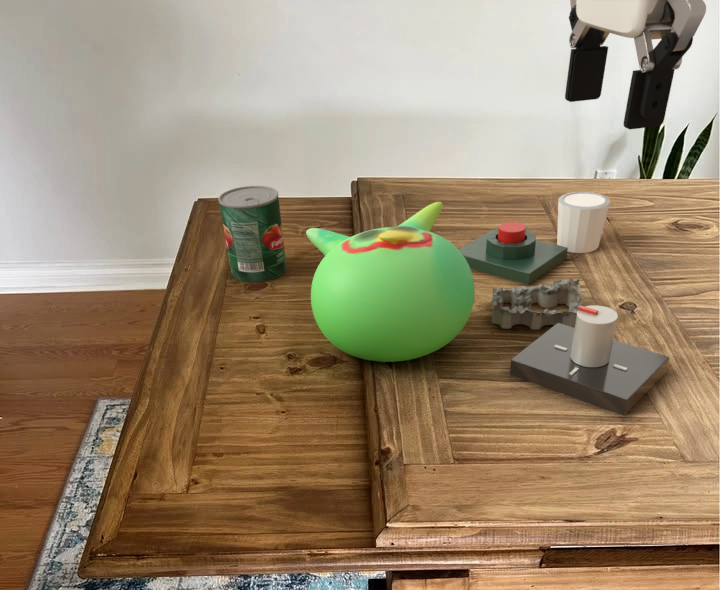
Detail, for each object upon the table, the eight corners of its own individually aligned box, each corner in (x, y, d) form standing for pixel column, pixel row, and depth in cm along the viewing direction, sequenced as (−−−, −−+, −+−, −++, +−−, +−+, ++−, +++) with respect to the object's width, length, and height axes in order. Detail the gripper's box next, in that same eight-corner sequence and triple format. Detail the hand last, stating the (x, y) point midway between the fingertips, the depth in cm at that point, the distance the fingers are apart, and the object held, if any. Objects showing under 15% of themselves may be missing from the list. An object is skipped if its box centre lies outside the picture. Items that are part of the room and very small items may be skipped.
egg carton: (579, 309, 90) (584, 278, 88) (579, 339, 85) (585, 306, 82) (492, 304, 92) (494, 273, 90) (487, 332, 87) (489, 301, 84)
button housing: (566, 262, 101) (569, 234, 98) (528, 289, 95) (531, 260, 93) (491, 243, 107) (493, 216, 104) (452, 267, 101) (453, 239, 99)
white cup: (571, 262, 101) (579, 212, 96) (542, 245, 106) (548, 196, 101) (612, 252, 103) (621, 202, 98) (581, 236, 107) (588, 187, 103)
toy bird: (325, 396, 78) (312, 265, 69) (309, 323, 91) (296, 204, 82) (488, 375, 80) (497, 244, 70) (449, 306, 93) (453, 187, 83)
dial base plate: (664, 377, 78) (670, 355, 76) (622, 421, 72) (627, 398, 70) (555, 341, 85) (558, 321, 83) (508, 379, 79) (510, 358, 77)
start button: (529, 238, 99) (531, 225, 98) (515, 247, 97) (516, 234, 96) (506, 232, 101) (507, 220, 100) (492, 241, 99) (493, 228, 98)
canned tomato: (227, 268, 105) (213, 190, 98) (280, 259, 107) (270, 181, 100) (237, 291, 99) (223, 209, 92) (293, 280, 101) (284, 200, 94)
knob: (616, 355, 77) (625, 309, 73) (598, 371, 75) (607, 325, 71) (581, 344, 79) (588, 299, 75) (563, 359, 77) (570, 313, 73)
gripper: (792, -170, 44) (714, 134, 55) (637, -157, 57) (599, 87, 68) (681, -166, 43) (624, 144, 54) (549, -153, 56) (524, 95, 67)
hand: (610, 112), depth 61 cm, fingers open, 9 cm apart
